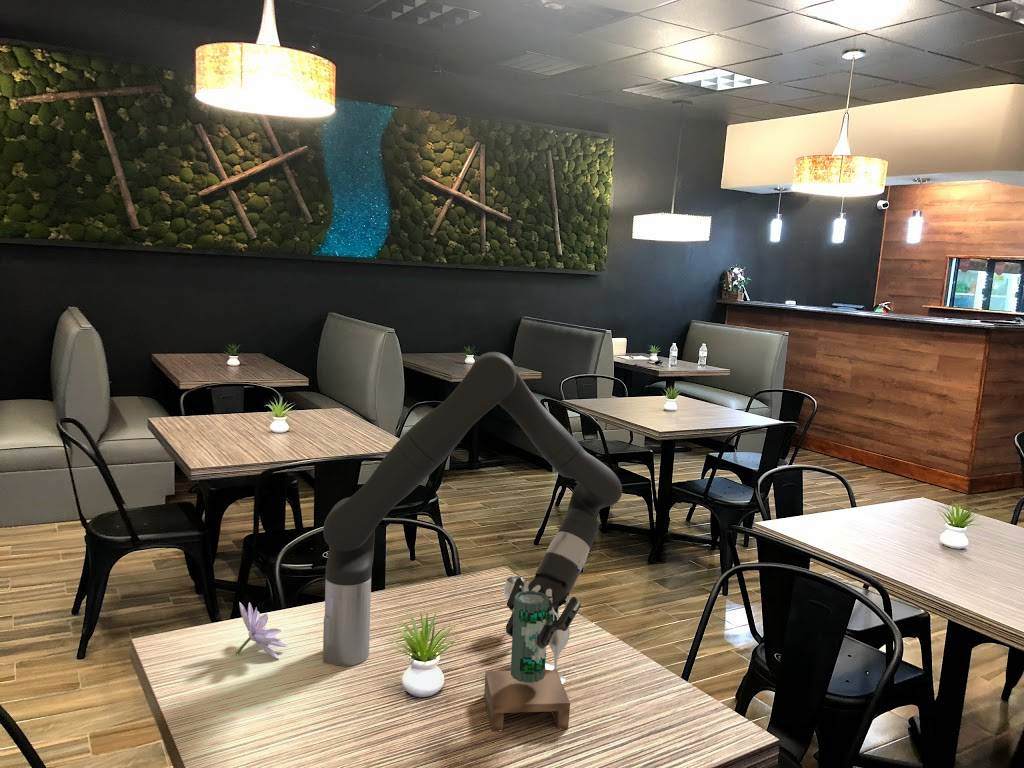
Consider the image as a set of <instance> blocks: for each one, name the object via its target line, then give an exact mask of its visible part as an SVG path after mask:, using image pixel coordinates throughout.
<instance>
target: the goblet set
mask: <svg viewBox="0 0 1024 768" xmlns="http://www.w3.org/2000/svg"><path fill="white" fill-rule="evenodd" d="M518 578H520V579H521V580H522V581H524V582H528V580H527V579H526V578H525V577H523V576H518V575H517V576H516V575H515V576H514V575H513V576H509V577H507V579H506V580H505V583H504V586H503V595H504V598H505V599H506V600H507V601H508V599H509V597H510V594H511V592H512V589H513V587H514V584H515V582H516V580H517V579H518ZM527 591H529V589H528V590H527ZM505 630H506V629H505ZM569 639H570V626H569V627H568V629H567V630H566V631H562V630H556V631H555V632H554V634H553V636H552V638H551V640H550V642H549V644H548V645H547V646H548V647H549V648H550V650H551V652H552V654H553V659H554V663H553V662H551V661H549V660H546V664H545V670H557V667H558V666H557V665H558V658H559V656H560V654H561V653H562V651H563V650H564V649H565V648H566V647H567V645H568V642H569ZM559 676H560V679H561V681H562V684H563V685H564V683H566V677H565V676H563V675H562V674H559Z"/></svg>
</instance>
